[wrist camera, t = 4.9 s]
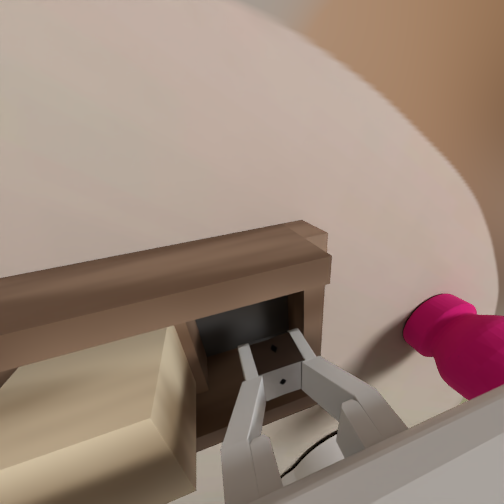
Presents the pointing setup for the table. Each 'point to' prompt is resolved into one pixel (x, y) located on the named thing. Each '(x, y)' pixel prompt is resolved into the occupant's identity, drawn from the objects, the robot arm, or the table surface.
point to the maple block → (101, 425)
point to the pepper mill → (459, 343)
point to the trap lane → (179, 309)
